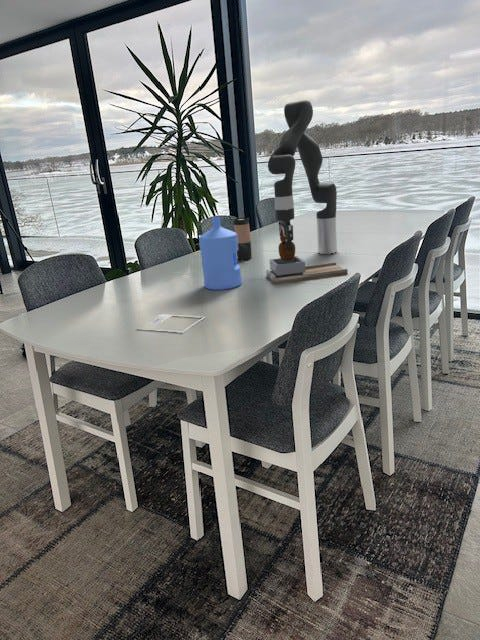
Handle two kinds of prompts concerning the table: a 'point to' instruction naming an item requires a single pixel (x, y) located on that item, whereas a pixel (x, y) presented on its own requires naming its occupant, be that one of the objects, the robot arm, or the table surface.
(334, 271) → the rail board
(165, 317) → the photo frame
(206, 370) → the table surface
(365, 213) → the table surface
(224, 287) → the water jug
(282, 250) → the wooden figurine
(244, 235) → the travel mug
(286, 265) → the shallow grey tray
